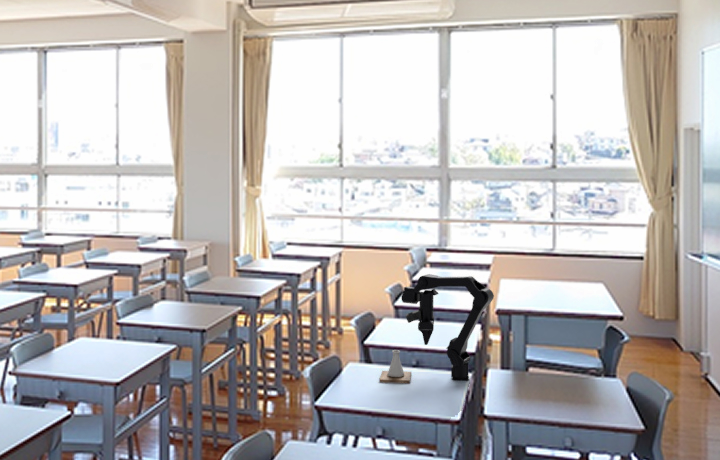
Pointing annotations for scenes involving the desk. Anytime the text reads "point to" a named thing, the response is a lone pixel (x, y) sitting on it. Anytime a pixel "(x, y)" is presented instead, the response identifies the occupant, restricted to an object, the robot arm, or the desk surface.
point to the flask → (395, 366)
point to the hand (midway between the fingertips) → (426, 342)
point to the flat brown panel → (395, 378)
